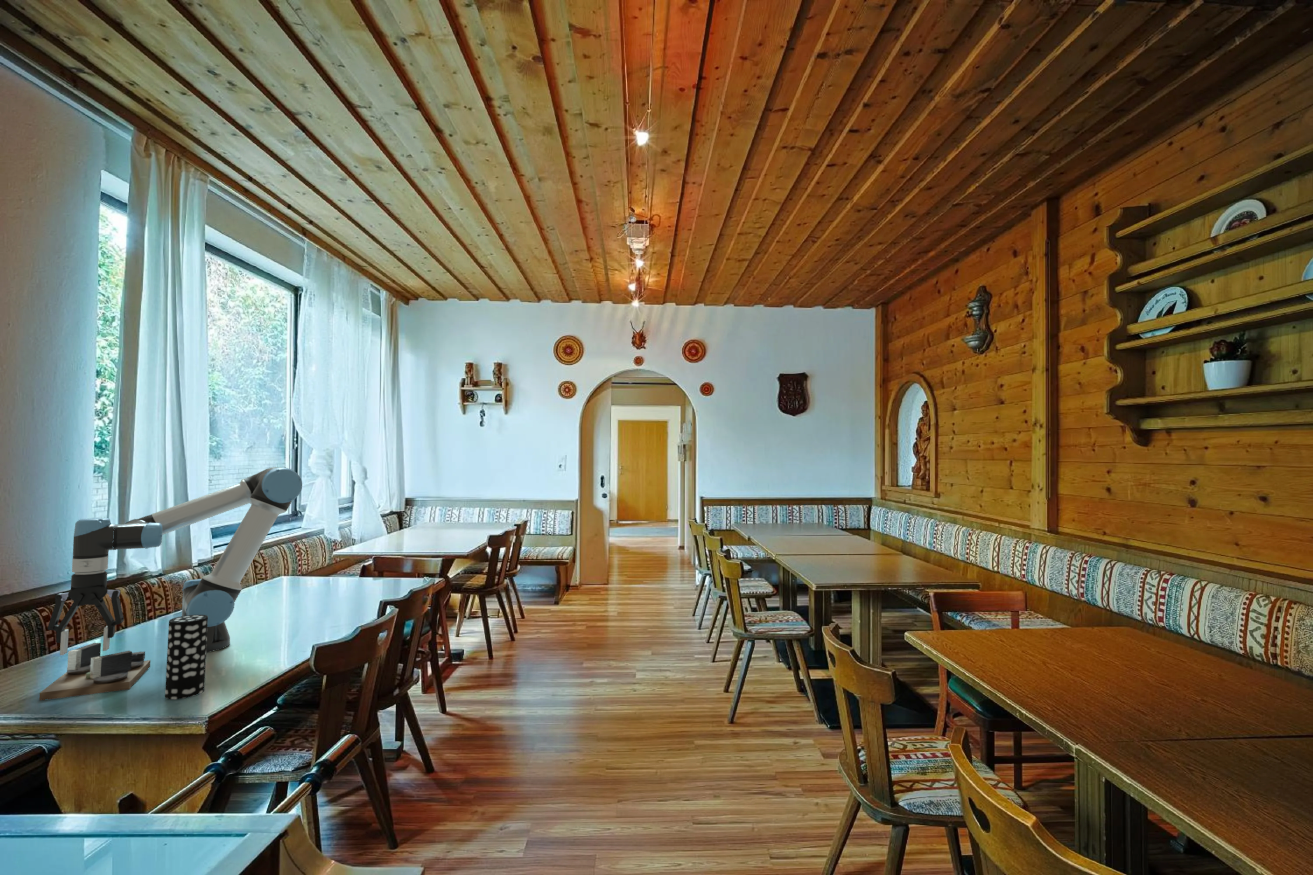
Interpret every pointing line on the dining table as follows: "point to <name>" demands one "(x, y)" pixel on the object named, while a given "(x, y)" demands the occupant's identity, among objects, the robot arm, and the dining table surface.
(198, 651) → the white-spotted black cylinder
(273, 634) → the dining table surface
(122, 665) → the knob
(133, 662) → the knob
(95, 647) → the knob
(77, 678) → the base
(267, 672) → the dining table surface
